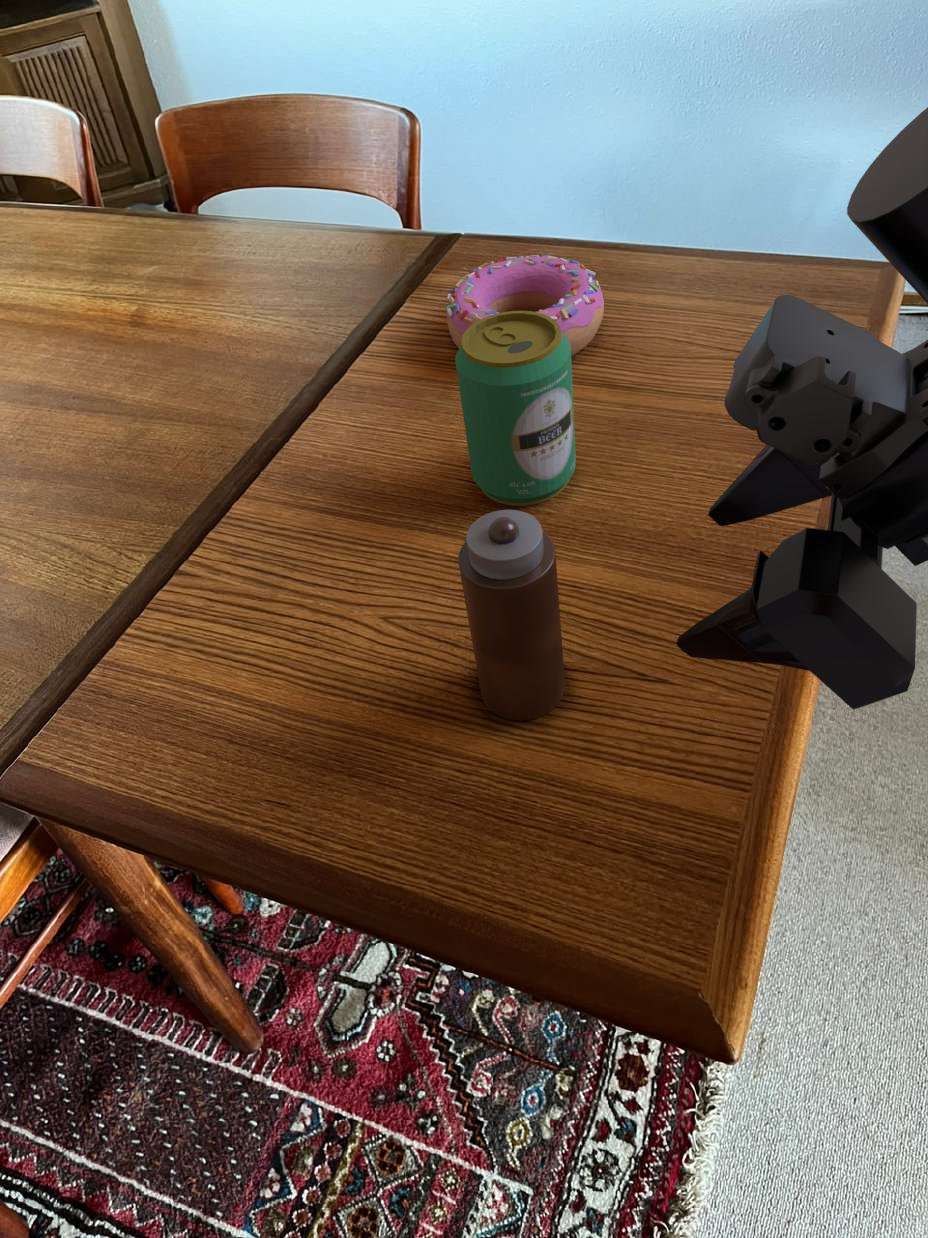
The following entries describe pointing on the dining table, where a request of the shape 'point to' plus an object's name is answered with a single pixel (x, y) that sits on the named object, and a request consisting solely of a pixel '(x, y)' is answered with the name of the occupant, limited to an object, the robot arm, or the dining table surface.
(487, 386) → the beverage can
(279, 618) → the dining table surface
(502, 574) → the pepper mill
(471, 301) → the donut
